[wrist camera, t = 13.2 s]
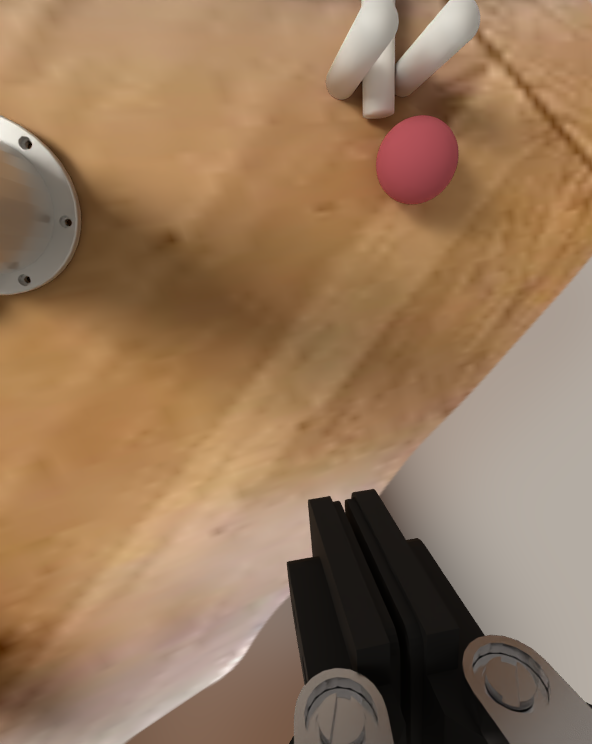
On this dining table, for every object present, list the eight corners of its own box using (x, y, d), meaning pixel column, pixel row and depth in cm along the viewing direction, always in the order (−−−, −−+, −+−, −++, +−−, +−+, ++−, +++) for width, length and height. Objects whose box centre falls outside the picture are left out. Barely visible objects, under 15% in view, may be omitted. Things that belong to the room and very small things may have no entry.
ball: (401, 106, 32) (378, 186, 36) (380, 106, 27) (356, 197, 31) (476, 125, 30) (444, 206, 34) (467, 128, 26) (431, 221, 30)
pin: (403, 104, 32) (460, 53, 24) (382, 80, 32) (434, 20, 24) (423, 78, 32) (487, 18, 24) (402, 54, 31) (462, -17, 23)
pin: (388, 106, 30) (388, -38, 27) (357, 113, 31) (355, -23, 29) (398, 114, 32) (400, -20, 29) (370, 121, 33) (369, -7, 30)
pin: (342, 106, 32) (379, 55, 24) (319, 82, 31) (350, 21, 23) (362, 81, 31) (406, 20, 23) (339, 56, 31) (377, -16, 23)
